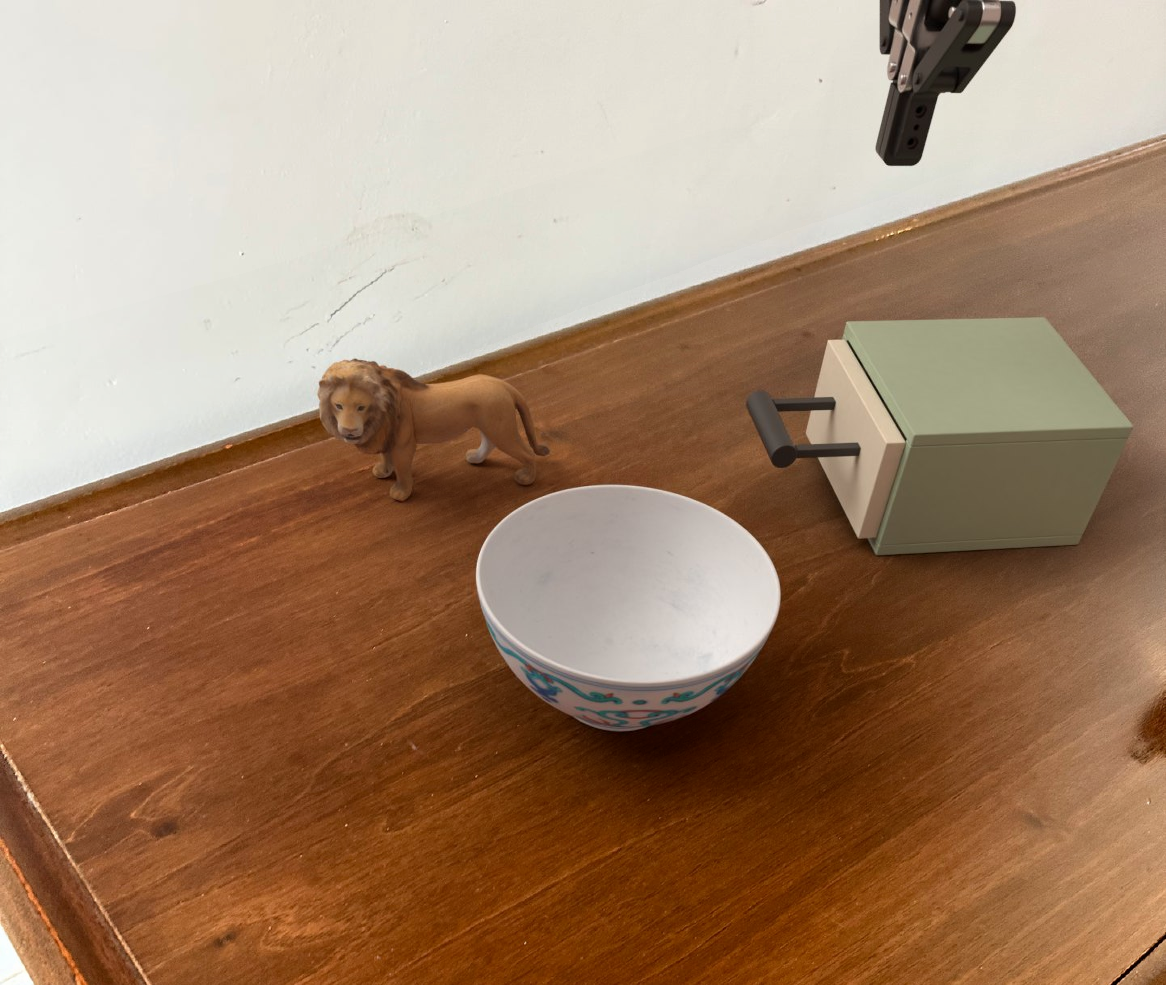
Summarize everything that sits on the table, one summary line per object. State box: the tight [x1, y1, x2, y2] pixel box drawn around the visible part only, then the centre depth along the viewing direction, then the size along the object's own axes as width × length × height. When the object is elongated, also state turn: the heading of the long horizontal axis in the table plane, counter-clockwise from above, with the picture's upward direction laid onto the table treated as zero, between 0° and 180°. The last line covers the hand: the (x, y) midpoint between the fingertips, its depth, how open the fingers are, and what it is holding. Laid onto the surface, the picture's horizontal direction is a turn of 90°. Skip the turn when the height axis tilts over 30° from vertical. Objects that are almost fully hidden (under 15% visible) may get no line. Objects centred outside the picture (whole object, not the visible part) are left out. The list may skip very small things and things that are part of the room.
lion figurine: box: [316, 357, 551, 502], centre depth 72 cm, size 15×5×9 cm, turn 115°
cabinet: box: [841, 316, 1134, 556], centre depth 75 cm, size 14×13×9 cm
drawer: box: [745, 339, 906, 540], centre depth 75 cm, size 18×11×7 cm, turn 100°
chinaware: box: [475, 484, 782, 732], centre depth 61 cm, size 15×15×8 cm
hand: (896, 160), depth 66 cm, fingers closed
